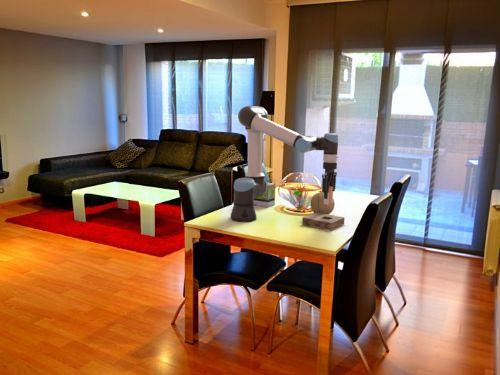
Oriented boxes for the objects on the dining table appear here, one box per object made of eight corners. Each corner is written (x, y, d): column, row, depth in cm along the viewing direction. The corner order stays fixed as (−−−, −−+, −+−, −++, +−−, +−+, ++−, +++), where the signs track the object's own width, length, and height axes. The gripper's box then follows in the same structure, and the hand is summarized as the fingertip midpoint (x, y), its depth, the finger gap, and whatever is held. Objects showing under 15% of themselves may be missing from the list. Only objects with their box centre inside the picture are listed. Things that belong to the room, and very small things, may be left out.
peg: (323, 207, 241) (324, 186, 239) (326, 206, 244) (327, 185, 242) (329, 209, 238) (330, 187, 236) (332, 207, 241) (333, 186, 239)
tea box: (275, 205, 288) (275, 183, 286) (267, 207, 280) (268, 185, 277) (256, 201, 296) (256, 180, 293) (248, 204, 288) (248, 182, 285)
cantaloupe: (325, 220, 253) (326, 195, 250) (304, 215, 263) (306, 191, 260) (338, 215, 264) (340, 191, 261) (318, 211, 274) (319, 188, 271)
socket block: (302, 224, 243) (302, 217, 243) (316, 218, 256) (316, 212, 255) (331, 230, 233) (331, 223, 232) (344, 224, 245) (344, 217, 244)
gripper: (329, 163, 227) (327, 207, 232) (343, 160, 241) (341, 201, 245) (316, 162, 232) (314, 205, 236) (331, 159, 245) (329, 200, 250)
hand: (328, 203), depth 241 cm, fingers closed on peg, 4 cm apart
